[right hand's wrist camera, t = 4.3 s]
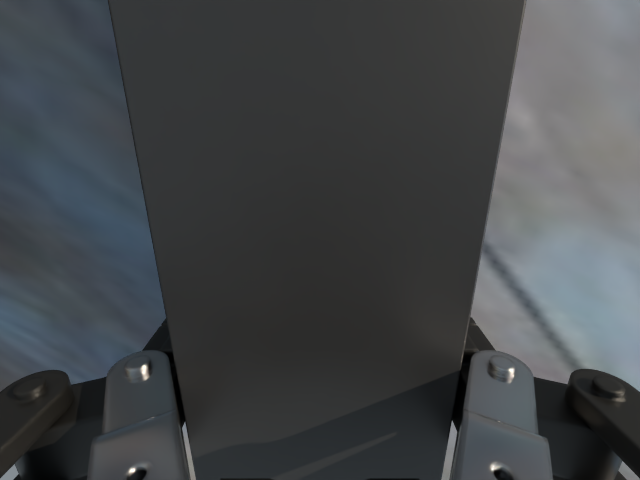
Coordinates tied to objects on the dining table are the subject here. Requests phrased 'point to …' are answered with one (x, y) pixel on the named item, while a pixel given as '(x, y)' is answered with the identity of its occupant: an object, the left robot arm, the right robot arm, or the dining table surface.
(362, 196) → the box
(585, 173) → the dining table surface
